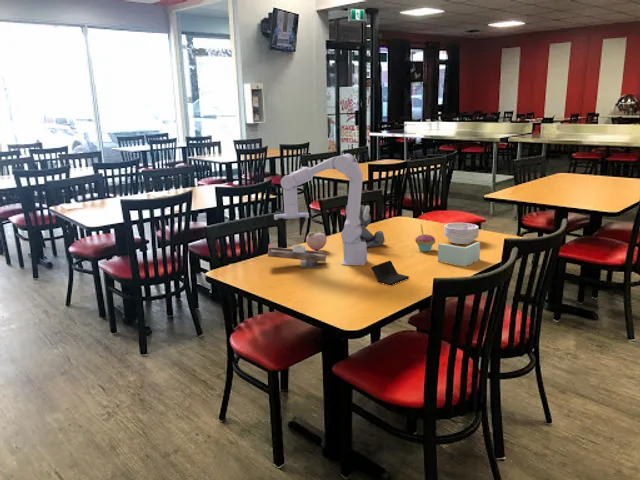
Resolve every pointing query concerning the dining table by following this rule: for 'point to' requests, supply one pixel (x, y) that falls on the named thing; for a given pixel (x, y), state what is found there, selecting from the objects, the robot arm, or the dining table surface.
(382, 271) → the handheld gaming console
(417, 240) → the cupcake
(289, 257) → the beam
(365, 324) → the dining table surface
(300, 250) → the block
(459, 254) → the pale blue squat box
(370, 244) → the koala plush
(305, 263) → the fulcrum stand
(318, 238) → the decorative fruit
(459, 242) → the paper bowls
